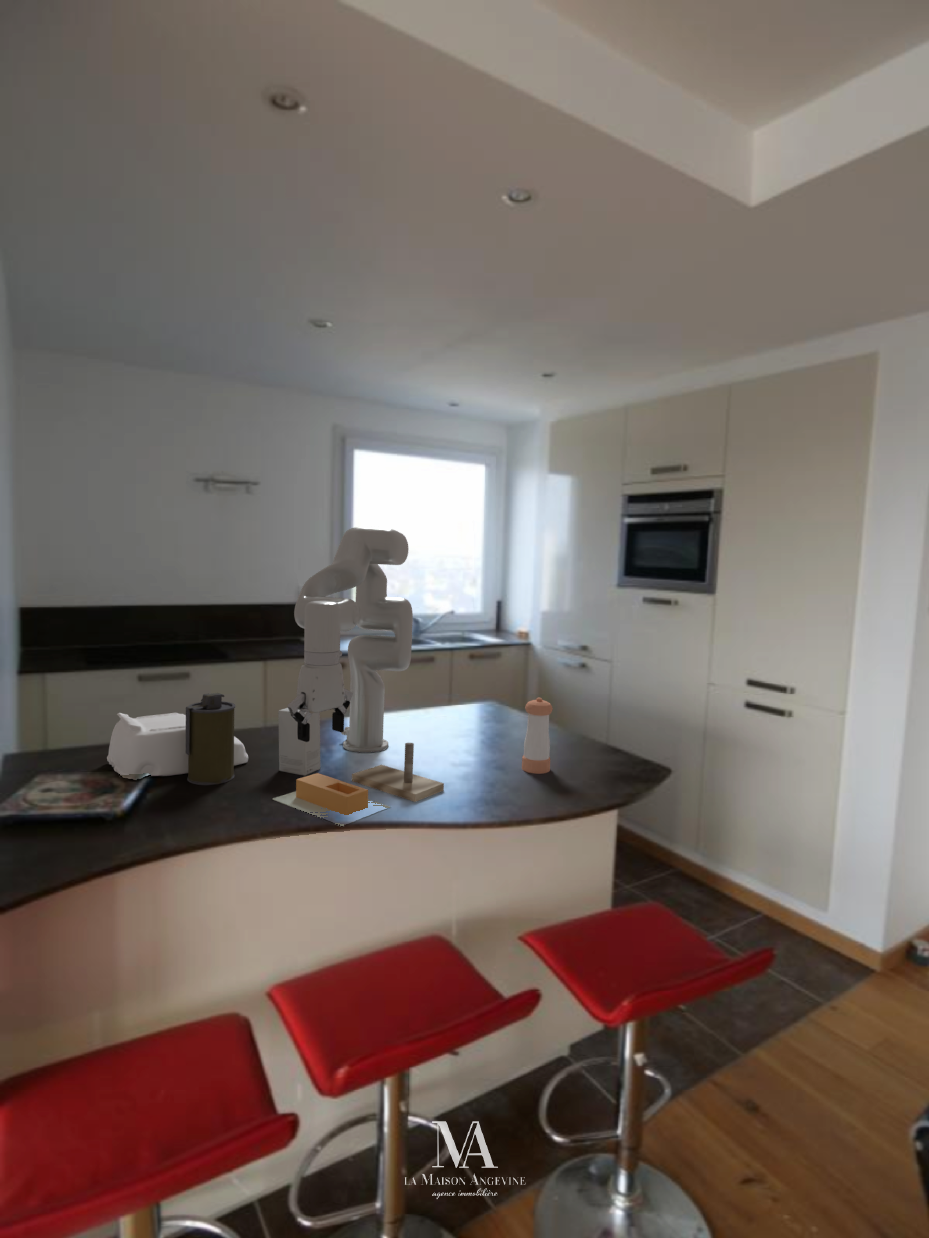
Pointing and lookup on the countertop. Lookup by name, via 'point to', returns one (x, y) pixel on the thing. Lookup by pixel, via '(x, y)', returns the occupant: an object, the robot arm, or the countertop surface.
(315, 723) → the skincare box
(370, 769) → the peg base
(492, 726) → the countertop surface
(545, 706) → the pepper shaker
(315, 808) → the mat
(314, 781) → the link
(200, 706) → the canister
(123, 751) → the white toaster
